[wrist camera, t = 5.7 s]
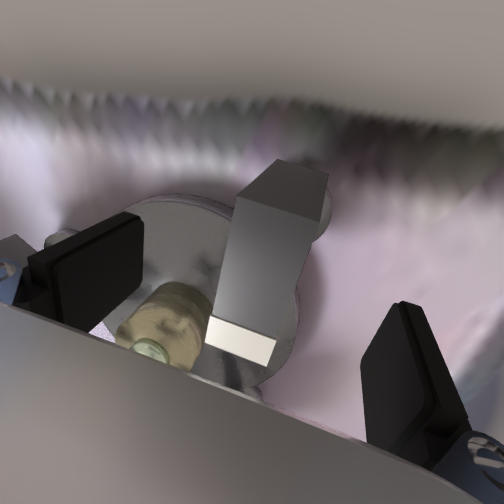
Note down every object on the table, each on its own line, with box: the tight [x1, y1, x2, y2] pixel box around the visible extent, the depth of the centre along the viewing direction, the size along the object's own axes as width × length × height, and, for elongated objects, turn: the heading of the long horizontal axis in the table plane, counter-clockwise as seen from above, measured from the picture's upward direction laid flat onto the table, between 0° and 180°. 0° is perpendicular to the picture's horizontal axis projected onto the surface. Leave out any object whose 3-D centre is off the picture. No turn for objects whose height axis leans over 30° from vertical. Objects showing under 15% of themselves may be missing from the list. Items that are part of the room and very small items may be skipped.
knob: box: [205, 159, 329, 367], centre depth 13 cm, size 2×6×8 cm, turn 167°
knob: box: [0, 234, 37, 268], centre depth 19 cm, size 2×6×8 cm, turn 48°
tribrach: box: [44, 187, 332, 400], centre depth 18 cm, size 21×23×7 cm
